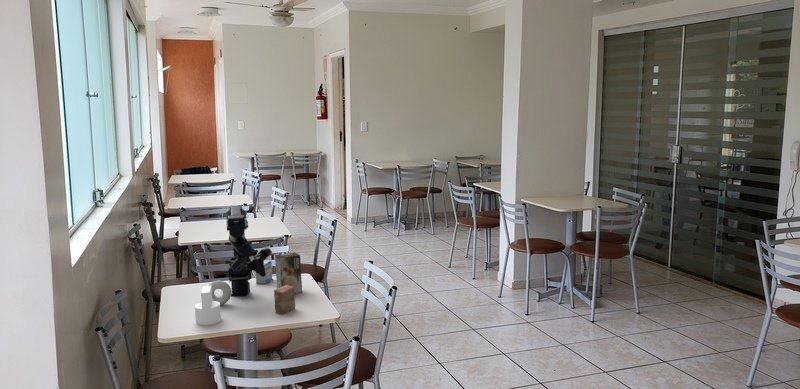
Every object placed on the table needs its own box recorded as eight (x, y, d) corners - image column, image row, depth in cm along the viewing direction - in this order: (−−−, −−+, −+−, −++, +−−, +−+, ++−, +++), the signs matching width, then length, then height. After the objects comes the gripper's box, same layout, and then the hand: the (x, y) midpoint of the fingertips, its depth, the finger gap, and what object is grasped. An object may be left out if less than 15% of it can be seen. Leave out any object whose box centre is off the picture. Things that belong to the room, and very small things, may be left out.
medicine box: (265, 284, 272) (264, 265, 270) (255, 283, 272) (254, 264, 271) (272, 278, 279) (271, 260, 278) (263, 278, 280) (262, 259, 279)
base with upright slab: (220, 323, 225) (218, 291, 223) (194, 325, 223) (192, 293, 221) (221, 315, 233) (220, 284, 231) (196, 317, 231) (194, 286, 230)
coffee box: (297, 288, 265) (295, 251, 262) (302, 292, 259) (300, 255, 257) (276, 291, 261) (274, 254, 258) (281, 295, 255) (279, 258, 253)
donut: (232, 302, 247) (231, 278, 246) (232, 305, 244) (230, 281, 243) (206, 304, 246) (205, 280, 244) (205, 307, 242) (204, 282, 241)
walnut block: (275, 312, 235) (274, 290, 234) (286, 307, 241) (286, 285, 240) (283, 314, 233) (282, 291, 232) (295, 309, 239) (294, 286, 238)
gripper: (245, 252, 255) (267, 281, 252) (214, 262, 238) (237, 294, 236) (260, 235, 250) (283, 265, 248) (229, 245, 234) (253, 277, 231)
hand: (264, 276), depth 241 cm, fingers closed
